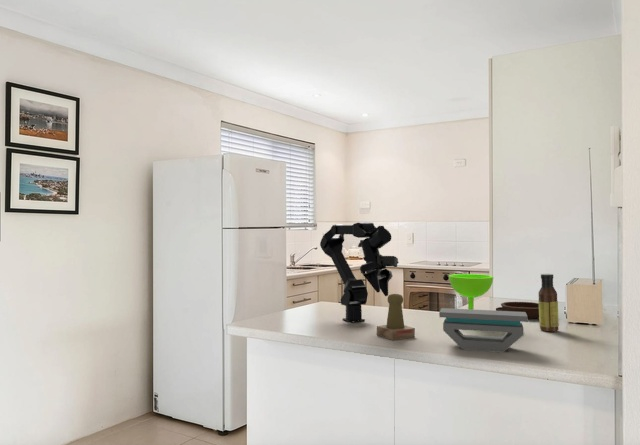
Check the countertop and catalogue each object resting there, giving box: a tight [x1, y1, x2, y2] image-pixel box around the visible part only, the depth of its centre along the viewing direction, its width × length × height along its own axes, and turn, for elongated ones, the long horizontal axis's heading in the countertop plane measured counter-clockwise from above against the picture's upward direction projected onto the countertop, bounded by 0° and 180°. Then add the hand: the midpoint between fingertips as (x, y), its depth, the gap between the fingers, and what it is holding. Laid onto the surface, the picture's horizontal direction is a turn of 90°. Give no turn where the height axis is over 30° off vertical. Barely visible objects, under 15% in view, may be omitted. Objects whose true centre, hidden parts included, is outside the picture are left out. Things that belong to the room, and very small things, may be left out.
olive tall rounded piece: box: [385, 293, 405, 329], centre depth 175 cm, size 6×6×11 cm
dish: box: [495, 301, 539, 320], centre depth 212 cm, size 18×22×5 cm
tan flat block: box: [376, 324, 416, 341], centre depth 175 cm, size 9×9×3 cm
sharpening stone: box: [439, 307, 529, 353], centre depth 159 cm, size 25×8×11 cm, turn 73°
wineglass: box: [448, 273, 494, 310], centre depth 195 cm, size 16×16×18 cm
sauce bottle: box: [538, 273, 560, 333], centre depth 184 cm, size 7×6×20 cm
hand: (382, 294), depth 186 cm, fingers open, 9 cm apart
